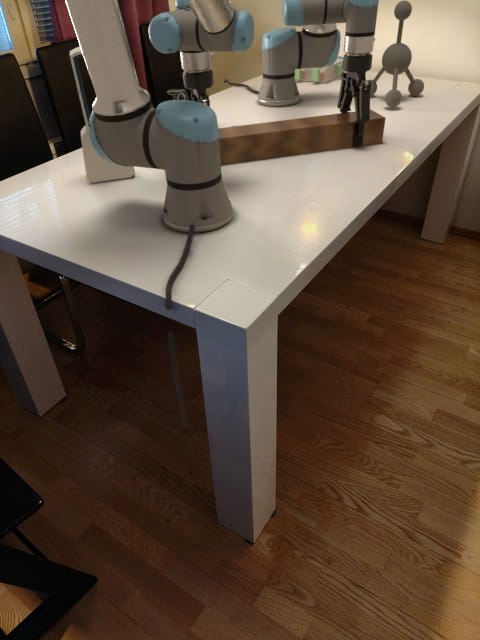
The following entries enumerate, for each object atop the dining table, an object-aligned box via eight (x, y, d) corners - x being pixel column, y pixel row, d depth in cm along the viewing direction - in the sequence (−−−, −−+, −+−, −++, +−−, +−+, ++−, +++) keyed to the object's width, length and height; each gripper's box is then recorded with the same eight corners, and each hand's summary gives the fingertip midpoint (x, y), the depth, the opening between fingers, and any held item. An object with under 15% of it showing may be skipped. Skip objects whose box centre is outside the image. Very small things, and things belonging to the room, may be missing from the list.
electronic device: (87, 183, 126) (55, 53, 107) (87, 173, 131) (56, 48, 113) (136, 176, 128) (112, 47, 110) (133, 167, 134) (110, 43, 115)
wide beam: (180, 170, 130) (176, 143, 126) (175, 159, 137) (172, 133, 133) (382, 143, 140) (385, 117, 135) (368, 134, 147) (371, 109, 142)
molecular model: (443, 101, 169) (463, -1, 151) (390, 111, 164) (404, 5, 145) (402, 88, 187) (415, -6, 169) (352, 96, 181) (360, 0, 163)
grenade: (169, 124, 164) (164, 92, 158) (174, 119, 168) (171, 88, 162) (187, 125, 162) (184, 92, 156) (193, 120, 167) (189, 88, 161)
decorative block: (314, 53, 218) (356, 56, 208) (314, 69, 221) (354, 72, 212) (284, 64, 202) (328, 68, 192) (284, 81, 205) (327, 85, 196)
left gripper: (221, 77, 113) (227, 171, 127) (204, 60, 130) (211, 145, 144) (189, 80, 112) (199, 175, 126) (176, 63, 129) (186, 148, 143)
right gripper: (391, 59, 120) (379, 150, 134) (354, 45, 137) (347, 128, 151) (362, 62, 119) (353, 154, 133) (329, 48, 136) (324, 131, 149)
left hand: (205, 159), depth 135 cm, fingers closed on wide beam, 9 cm apart
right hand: (350, 140), depth 142 cm, fingers closed on wide beam, 9 cm apart
